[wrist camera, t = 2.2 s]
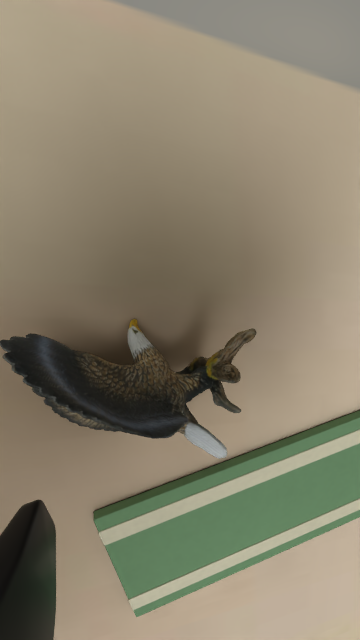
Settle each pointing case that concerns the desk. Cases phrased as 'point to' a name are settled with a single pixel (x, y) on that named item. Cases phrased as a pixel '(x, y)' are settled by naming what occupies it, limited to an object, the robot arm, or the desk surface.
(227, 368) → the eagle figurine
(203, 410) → the desk surface
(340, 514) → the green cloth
